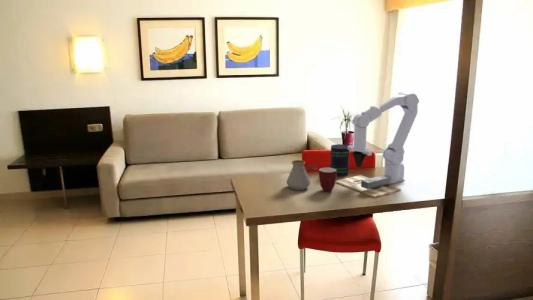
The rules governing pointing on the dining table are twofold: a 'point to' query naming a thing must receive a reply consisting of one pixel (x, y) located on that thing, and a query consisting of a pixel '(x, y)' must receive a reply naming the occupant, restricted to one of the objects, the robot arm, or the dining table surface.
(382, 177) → the grey square pillar
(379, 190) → the label board
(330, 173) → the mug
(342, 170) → the storage jar
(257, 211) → the dining table surface
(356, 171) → the dining table surface
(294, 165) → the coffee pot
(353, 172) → the dining table surface
